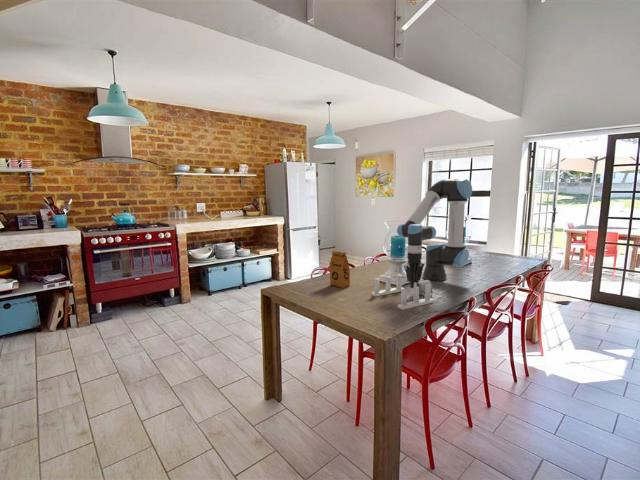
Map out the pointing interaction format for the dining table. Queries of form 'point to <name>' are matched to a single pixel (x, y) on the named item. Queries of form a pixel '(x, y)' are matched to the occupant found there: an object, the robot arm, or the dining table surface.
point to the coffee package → (339, 270)
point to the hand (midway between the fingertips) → (413, 293)
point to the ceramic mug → (422, 287)
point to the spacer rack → (403, 293)
